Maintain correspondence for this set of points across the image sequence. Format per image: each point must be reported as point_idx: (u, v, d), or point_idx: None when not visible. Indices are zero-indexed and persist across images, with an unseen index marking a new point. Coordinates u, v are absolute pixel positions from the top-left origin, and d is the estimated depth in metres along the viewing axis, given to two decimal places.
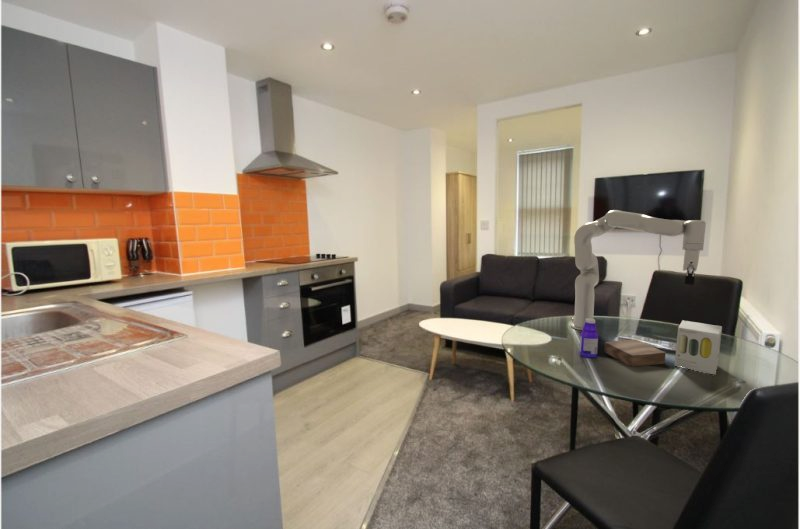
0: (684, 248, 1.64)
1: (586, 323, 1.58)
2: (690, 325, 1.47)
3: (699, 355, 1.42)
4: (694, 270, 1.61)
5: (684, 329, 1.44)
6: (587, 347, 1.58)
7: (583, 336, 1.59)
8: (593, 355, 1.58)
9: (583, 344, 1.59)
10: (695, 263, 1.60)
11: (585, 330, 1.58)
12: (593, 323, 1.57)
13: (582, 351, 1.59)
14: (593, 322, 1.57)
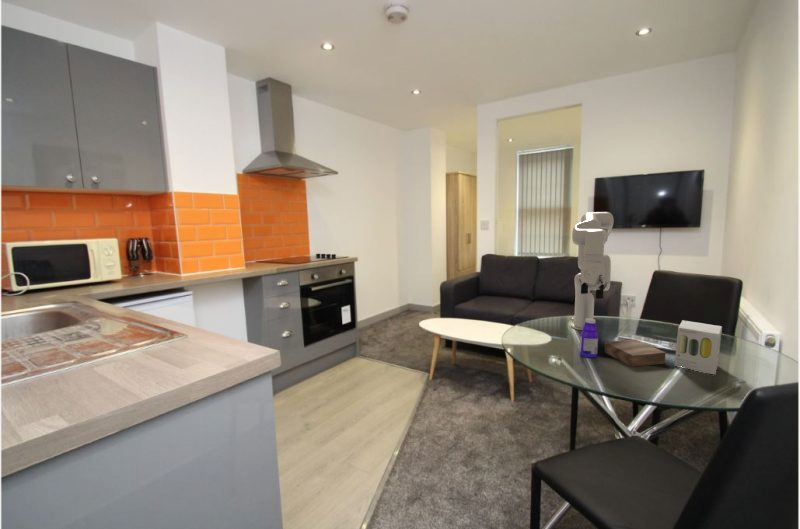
0: (590, 260, 1.52)
1: (586, 323, 1.58)
2: (690, 325, 1.47)
3: (699, 355, 1.42)
4: (602, 283, 1.52)
5: (684, 329, 1.44)
6: (587, 347, 1.58)
7: (583, 336, 1.59)
8: (593, 355, 1.58)
9: (583, 344, 1.59)
10: (603, 275, 1.51)
11: (585, 330, 1.58)
12: (593, 323, 1.57)
13: (582, 351, 1.59)
14: (593, 322, 1.57)
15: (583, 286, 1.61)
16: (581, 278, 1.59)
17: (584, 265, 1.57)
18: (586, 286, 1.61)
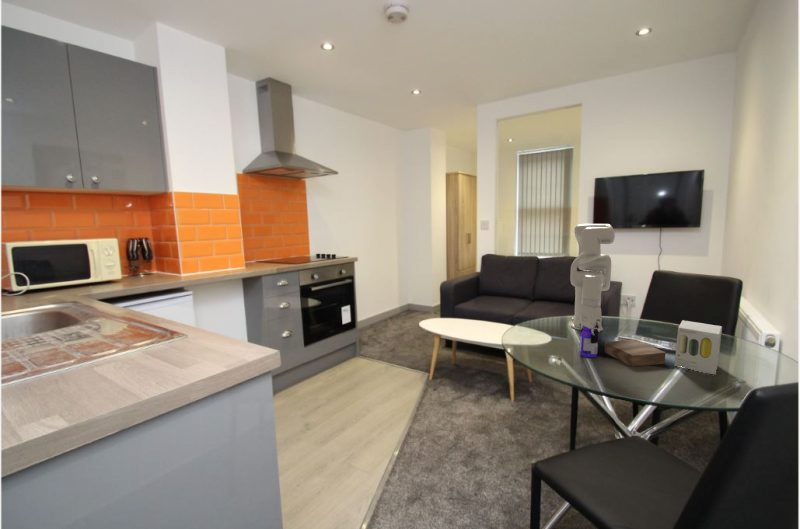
0: (588, 305, 1.55)
1: None
2: (690, 325, 1.47)
3: (699, 355, 1.42)
4: (598, 328, 1.56)
5: (684, 329, 1.44)
6: (587, 347, 1.58)
7: (583, 336, 1.59)
8: (593, 355, 1.58)
9: (583, 344, 1.59)
10: (600, 320, 1.54)
11: (585, 330, 1.58)
12: None
13: (582, 351, 1.60)
14: None
15: None
16: (579, 320, 1.62)
17: (582, 308, 1.60)
18: None
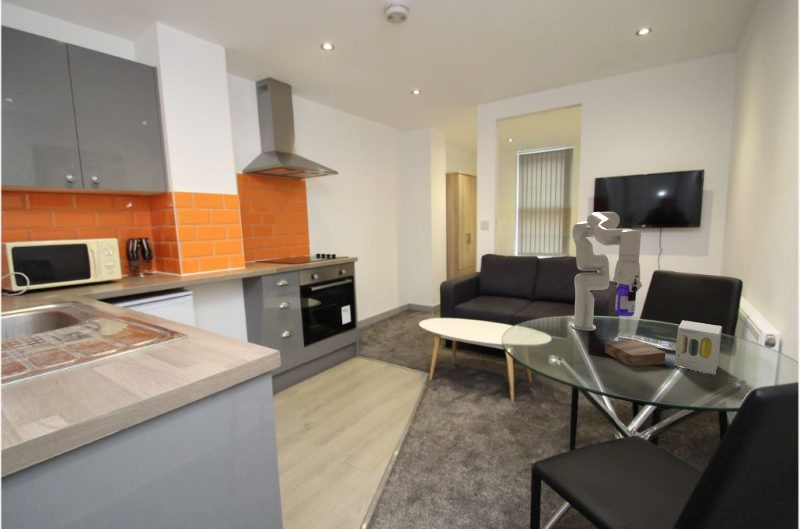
0: (626, 261, 1.50)
1: None
2: (690, 325, 1.47)
3: (699, 355, 1.42)
4: (636, 285, 1.50)
5: (684, 329, 1.44)
6: (624, 305, 1.53)
7: (620, 294, 1.54)
8: (630, 313, 1.53)
9: (620, 302, 1.54)
10: (639, 276, 1.49)
11: (622, 288, 1.53)
12: None
13: (618, 310, 1.55)
14: None
15: None
16: (615, 278, 1.57)
17: (618, 265, 1.54)
18: None
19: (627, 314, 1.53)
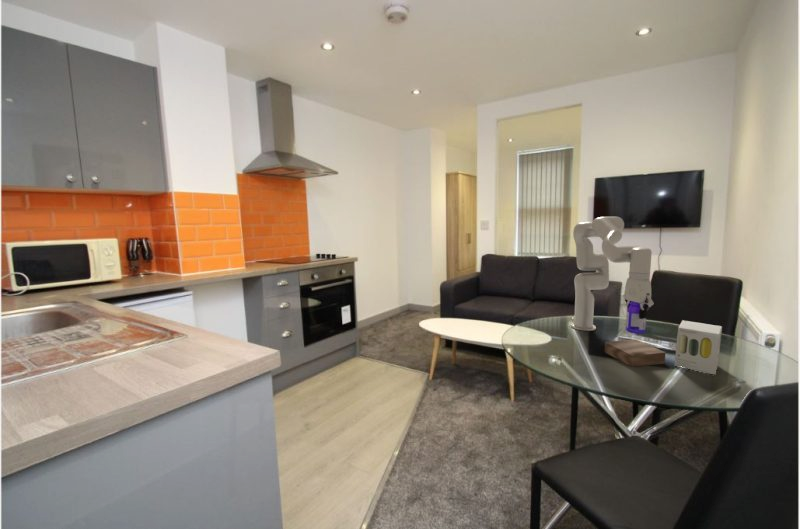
0: (637, 279, 1.50)
1: None
2: (690, 325, 1.47)
3: (699, 355, 1.42)
4: (647, 302, 1.51)
5: (684, 329, 1.44)
6: (635, 323, 1.53)
7: (631, 311, 1.54)
8: (641, 331, 1.53)
9: (631, 320, 1.54)
10: (650, 294, 1.49)
11: (633, 305, 1.53)
12: None
13: (629, 327, 1.55)
14: None
15: None
16: (625, 296, 1.57)
17: (629, 283, 1.55)
18: None
19: (638, 332, 1.53)
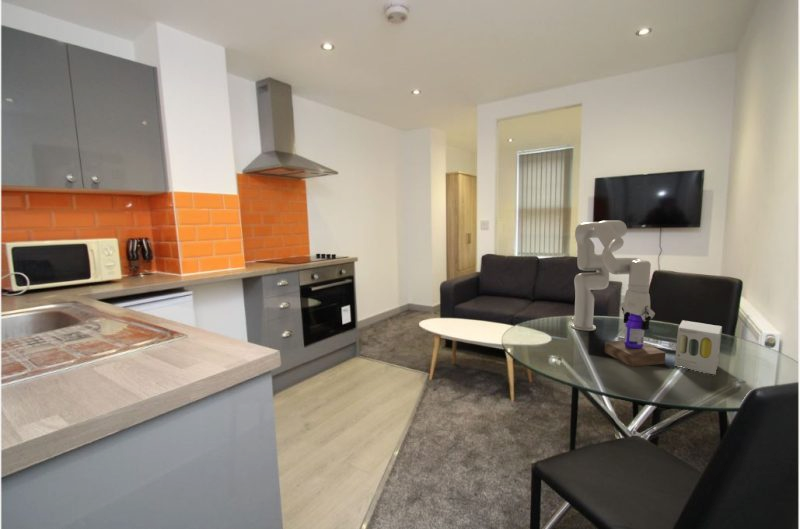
0: (636, 291, 1.51)
1: None
2: (690, 325, 1.47)
3: (699, 355, 1.42)
4: (648, 314, 1.51)
5: (684, 329, 1.44)
6: (634, 338, 1.54)
7: (629, 326, 1.55)
8: (639, 346, 1.55)
9: (629, 334, 1.55)
10: (649, 306, 1.50)
11: (631, 320, 1.55)
12: None
13: (628, 342, 1.56)
14: None
15: (626, 315, 1.60)
16: (624, 307, 1.58)
17: (628, 295, 1.56)
18: (629, 315, 1.60)
19: (636, 346, 1.55)
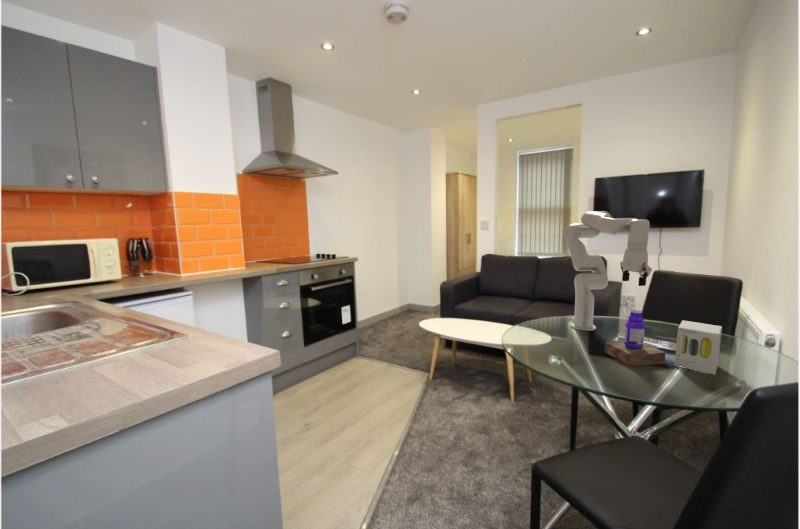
0: (634, 249, 1.57)
1: (632, 313, 1.55)
2: (690, 325, 1.47)
3: (699, 355, 1.42)
4: (645, 270, 1.57)
5: (684, 329, 1.44)
6: (634, 338, 1.54)
7: (629, 326, 1.55)
8: (639, 346, 1.55)
9: (629, 334, 1.55)
10: (647, 263, 1.56)
11: (631, 320, 1.55)
12: (640, 313, 1.53)
13: (628, 342, 1.56)
14: (640, 312, 1.53)
15: (625, 274, 1.66)
16: (623, 266, 1.64)
17: (627, 253, 1.61)
18: (627, 274, 1.66)
19: (636, 346, 1.55)
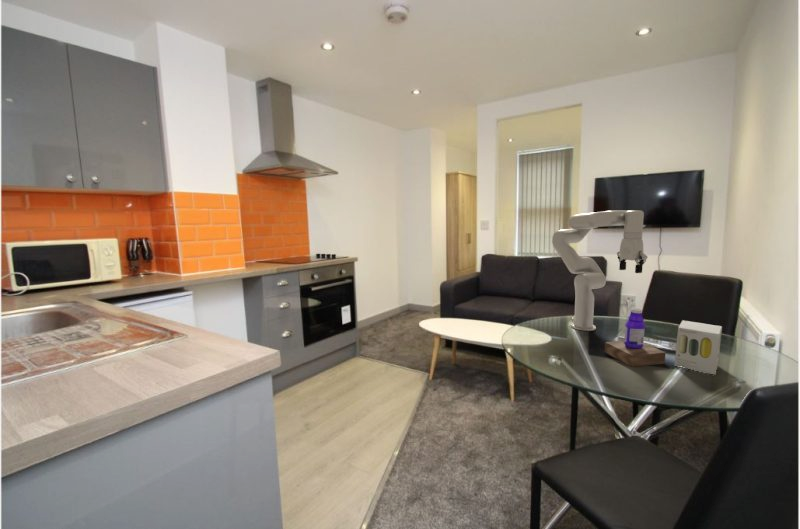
0: (630, 238, 1.66)
1: (632, 313, 1.55)
2: (690, 325, 1.47)
3: (699, 355, 1.42)
4: (641, 258, 1.66)
5: (684, 329, 1.44)
6: (634, 338, 1.54)
7: (629, 326, 1.55)
8: (639, 346, 1.55)
9: (629, 334, 1.55)
10: (642, 252, 1.65)
11: (631, 320, 1.55)
12: (640, 313, 1.53)
13: (628, 342, 1.56)
14: (640, 312, 1.53)
15: (622, 263, 1.75)
16: (620, 255, 1.73)
17: (623, 243, 1.71)
18: (624, 263, 1.75)
19: (636, 346, 1.55)
